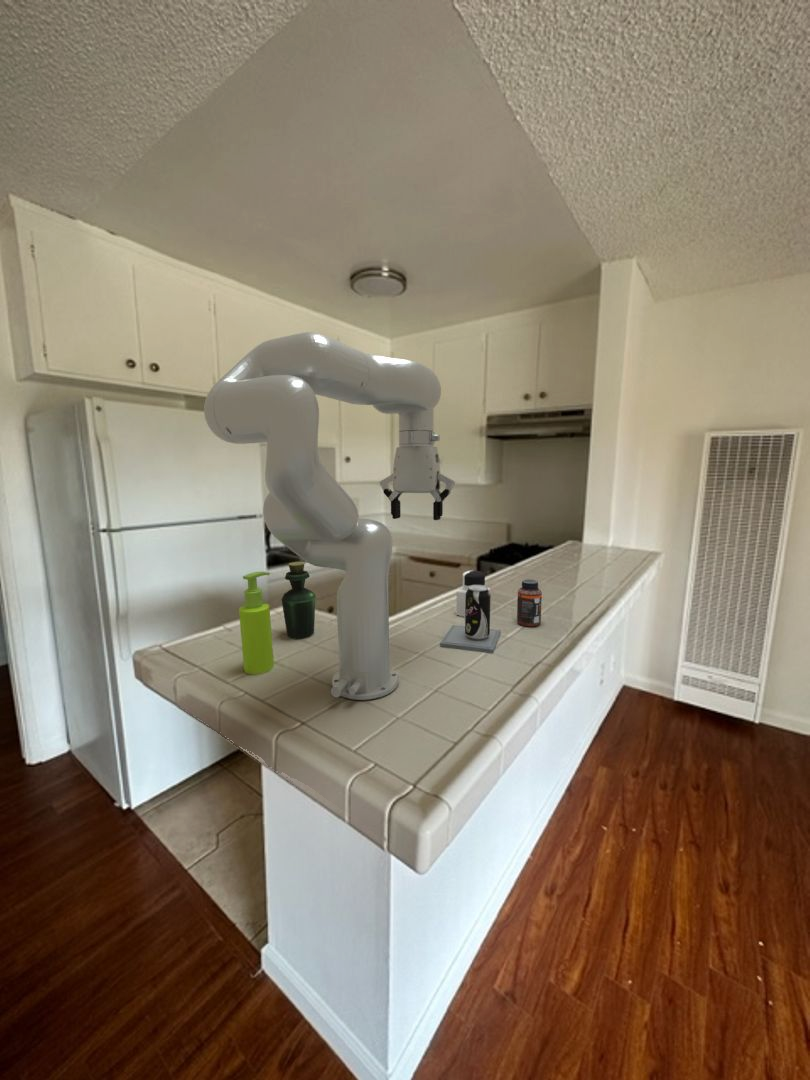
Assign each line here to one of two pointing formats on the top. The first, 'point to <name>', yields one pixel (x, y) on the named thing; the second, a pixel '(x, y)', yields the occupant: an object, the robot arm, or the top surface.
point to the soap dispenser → (256, 629)
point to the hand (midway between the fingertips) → (416, 518)
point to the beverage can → (477, 612)
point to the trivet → (470, 640)
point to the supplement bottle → (529, 603)
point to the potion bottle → (298, 604)
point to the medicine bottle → (468, 580)
